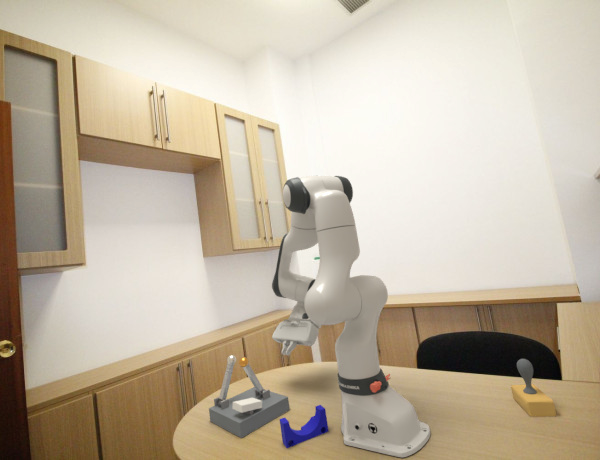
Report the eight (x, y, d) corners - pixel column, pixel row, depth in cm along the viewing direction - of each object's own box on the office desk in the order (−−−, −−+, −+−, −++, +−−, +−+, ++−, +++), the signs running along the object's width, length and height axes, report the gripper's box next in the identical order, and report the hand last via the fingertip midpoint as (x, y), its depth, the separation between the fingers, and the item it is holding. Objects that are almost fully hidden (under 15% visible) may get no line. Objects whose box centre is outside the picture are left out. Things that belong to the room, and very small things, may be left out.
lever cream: (227, 406, 100) (238, 356, 105) (219, 406, 98) (231, 354, 104) (222, 404, 102) (234, 355, 108) (214, 404, 100) (226, 353, 106)
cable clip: (321, 425, 88) (317, 402, 88) (328, 432, 84) (325, 408, 84) (280, 440, 83) (277, 417, 84) (286, 449, 79) (283, 424, 80)
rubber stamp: (513, 398, 86) (503, 353, 87) (536, 397, 85) (527, 352, 86) (530, 417, 77) (519, 366, 78) (557, 416, 75) (545, 365, 77)
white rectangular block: (262, 407, 93) (262, 400, 94) (241, 412, 89) (242, 405, 89) (252, 404, 97) (252, 397, 97) (232, 408, 92) (232, 401, 93)
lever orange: (269, 392, 103) (247, 355, 100) (263, 399, 101) (240, 362, 98) (263, 390, 105) (242, 354, 102) (257, 397, 103) (235, 361, 100)
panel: (289, 409, 99) (286, 389, 100) (241, 438, 87) (238, 414, 88) (256, 398, 112) (254, 380, 113) (210, 421, 100) (207, 401, 100)
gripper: (278, 314, 125) (261, 347, 118) (314, 315, 111) (298, 352, 103) (288, 323, 128) (272, 355, 120) (325, 325, 114) (310, 361, 106)
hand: (285, 354), depth 112 cm, fingers closed
